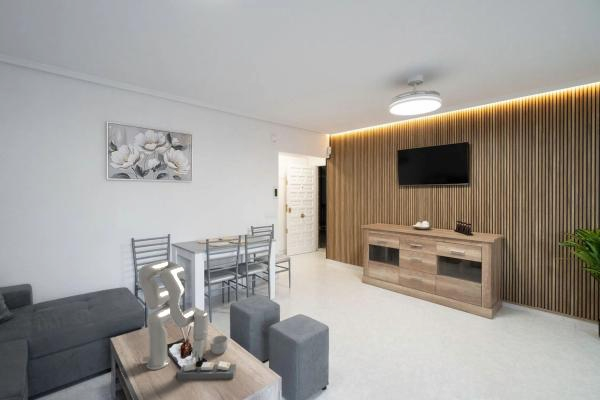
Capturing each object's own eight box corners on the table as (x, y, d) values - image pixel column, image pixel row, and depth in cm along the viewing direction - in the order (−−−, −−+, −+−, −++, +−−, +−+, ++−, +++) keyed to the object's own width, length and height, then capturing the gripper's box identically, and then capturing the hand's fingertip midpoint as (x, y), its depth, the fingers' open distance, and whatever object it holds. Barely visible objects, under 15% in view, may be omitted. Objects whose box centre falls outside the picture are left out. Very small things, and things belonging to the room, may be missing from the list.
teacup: (222, 357, 175) (222, 344, 175) (206, 355, 177) (206, 342, 177) (232, 345, 189) (232, 333, 188) (217, 343, 191) (217, 331, 191)
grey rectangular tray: (173, 379, 154) (173, 372, 154) (179, 370, 162) (179, 364, 162) (233, 378, 155) (233, 371, 155) (236, 369, 163) (236, 362, 163)
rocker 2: (200, 369, 156) (200, 366, 156) (203, 365, 161) (203, 361, 161) (211, 369, 157) (212, 366, 157) (214, 365, 161) (214, 362, 161)
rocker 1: (184, 371, 156) (183, 368, 156) (187, 366, 161) (186, 363, 160) (195, 369, 156) (194, 366, 156) (198, 364, 161) (197, 361, 161)
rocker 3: (217, 368, 157) (218, 365, 157) (219, 363, 161) (220, 360, 161) (228, 370, 157) (228, 367, 157) (229, 365, 161) (230, 362, 161)
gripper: (198, 327, 165) (197, 357, 166) (188, 341, 150) (187, 374, 151) (211, 327, 165) (210, 358, 166) (202, 341, 150) (201, 375, 151)
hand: (199, 366), depth 159 cm, fingers closed
